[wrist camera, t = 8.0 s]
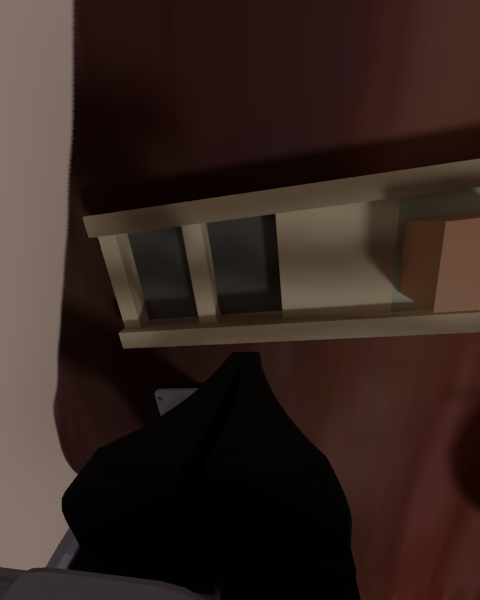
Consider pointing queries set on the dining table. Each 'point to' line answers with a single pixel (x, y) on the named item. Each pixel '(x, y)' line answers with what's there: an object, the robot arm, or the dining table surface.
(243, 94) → the dining table surface
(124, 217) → the trap lane
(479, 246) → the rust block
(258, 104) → the dining table surface
